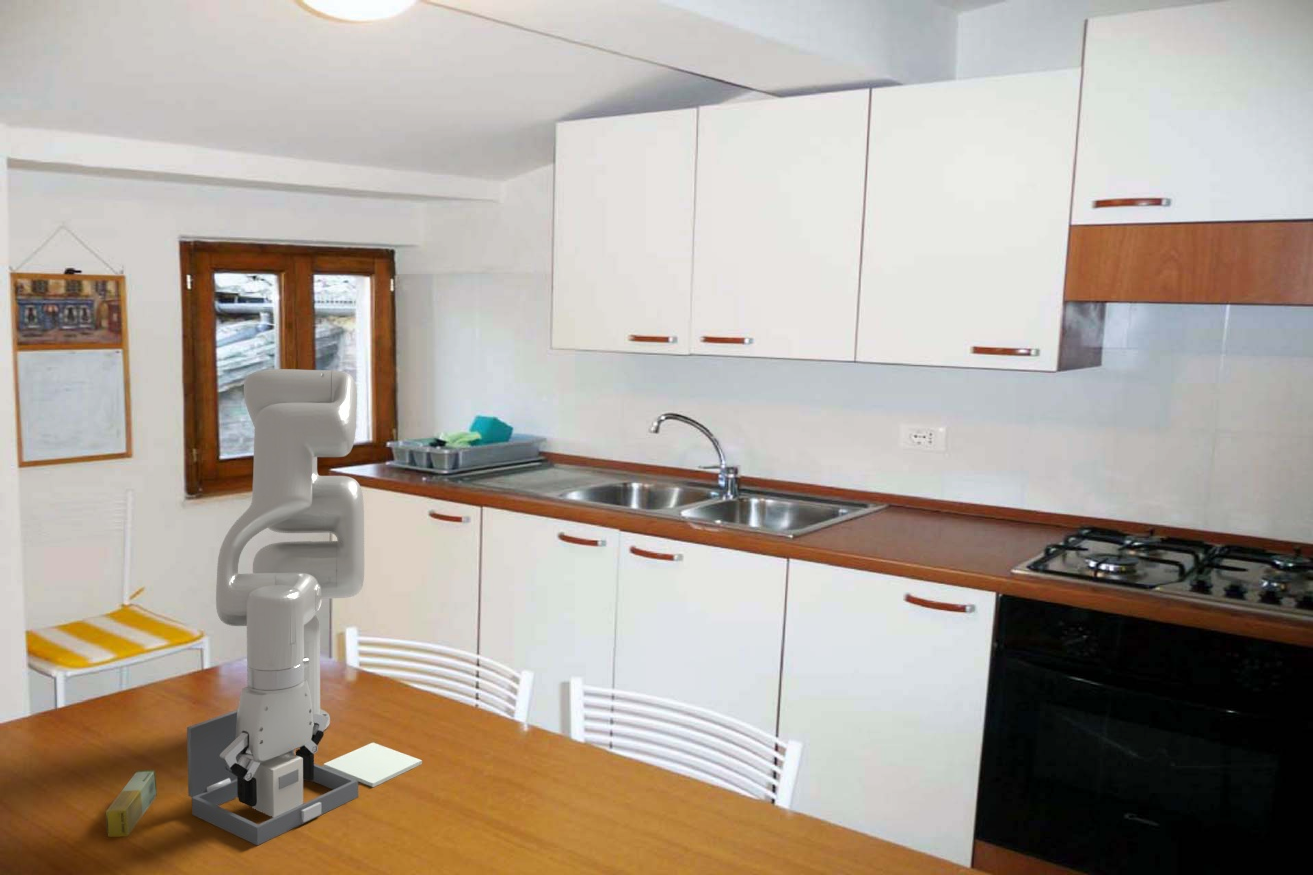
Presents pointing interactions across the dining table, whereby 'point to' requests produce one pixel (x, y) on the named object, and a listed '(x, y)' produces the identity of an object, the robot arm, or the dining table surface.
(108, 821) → the medication box
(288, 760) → the block
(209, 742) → the case
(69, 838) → the dining table surface
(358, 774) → the mat
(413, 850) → the dining table surface
